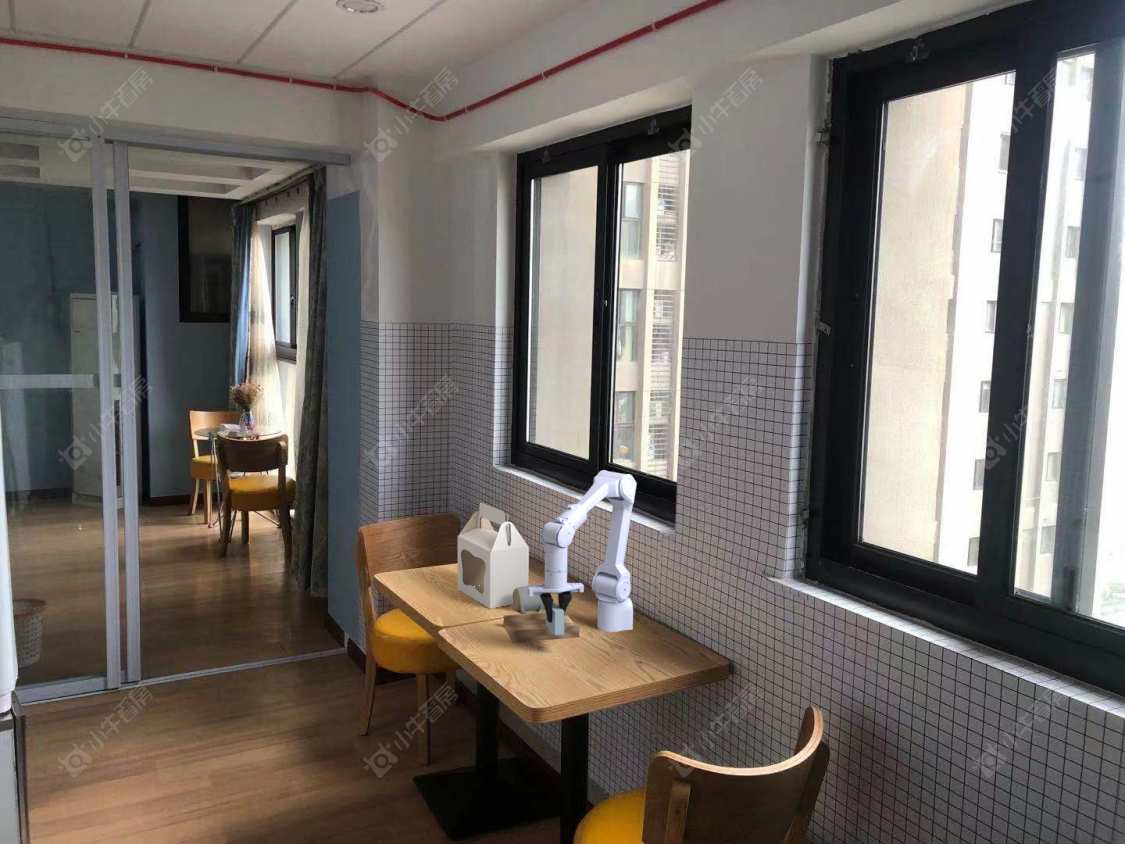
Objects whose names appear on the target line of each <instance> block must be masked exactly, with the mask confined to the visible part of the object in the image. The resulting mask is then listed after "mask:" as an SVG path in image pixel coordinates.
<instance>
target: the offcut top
mask: <svg viewBox="0 0 1125 844" xmlns="http://www.w3.org/2000/svg"><path fill="white" fill-rule="evenodd" d="M573 625H574V622H573V620H572V619H571V618H570V617H569V615H568V616H564V626H573Z"/></svg>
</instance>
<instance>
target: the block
mask: <svg viewBox="0 0 1125 844" xmlns="http://www.w3.org/2000/svg"><path fill="white" fill-rule="evenodd" d="M546 626H547V627H548V628H549V629H550V630H551V632H552V633H553V634H554V635H563V634H564V611H563V610H562V609H561V608H560V607H559V604H557V603H556V602H553V606H552V622H551V623H549V622H548V621H547V615H546Z"/></svg>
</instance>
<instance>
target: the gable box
mask: <svg viewBox="0 0 1125 844" xmlns="http://www.w3.org/2000/svg"><path fill="white" fill-rule="evenodd" d="M511 515H512V514H509V513H507V512H506V510H503V509H500V508H497V507H495V506H493V505H490V504H488V503H485V502H482V501H481V502H480V503H479V509H478V510H475V511H474V512H473V513H472V515H471V516H470V517H469V519H468V520H467V522H466V524H465V525H464V526H463V528H462V529H461V531H460V532H459V534H458V535H457V590H458V589H459V590H460V591H459V590H458V591H459V592H461V591H462V592H463V593H462V592H461V593H462V594H464V593H465V594H464V595H466V596H467V595H468V597H469V598H471V599H472V598H473V600H474V601H476V602H477V601H478V603H479V602H480V603H479V604H481V605H482V604H483V605H482V606H484V607H486V608H487V607H488V608H487V609H489V608H493V609H497V608H496V607H499V608H502V607H501V606H504V607H508V606H507V605H510V606H514V605H513V591H514V589H516V588H518V587H523V586H529V579H530V578H529V575H530V574H529V572H530V570H529V567H530V566H529V565H530V564H529V563H530V562H529V559H530V558H529V557H530V547H529V545H528V544H527V542H526V541H525V539H524V538H523V536H522V535H521V533H520V532H519V531H518V529H517V528H516V526H515V525H514V523H512V522H511V521H509V520H510V518H511ZM491 522H493V523H495V524H498V525H499V529H498V530H497V531H496V530H495V529H494V527H493V526H492V524H491ZM479 585H480V586H479ZM474 586H475V587H474Z"/></svg>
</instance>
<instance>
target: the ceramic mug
mask: <svg viewBox="0 0 1125 844" xmlns="http://www.w3.org/2000/svg"><path fill="white" fill-rule="evenodd" d="M538 585H541V583H537V584H535V583H534V584H528V586H523V587H518V588H516V589H514V591H513V604H514V605H513V607H514V609H515V610H516V611H517V612H521V614H530V612H533V611H537V613H543V610H545V607H544V605H543V602H542V600H541V598H540V595H533V596H531V597H529V596H528V594H527V587H533V586H538Z"/></svg>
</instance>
